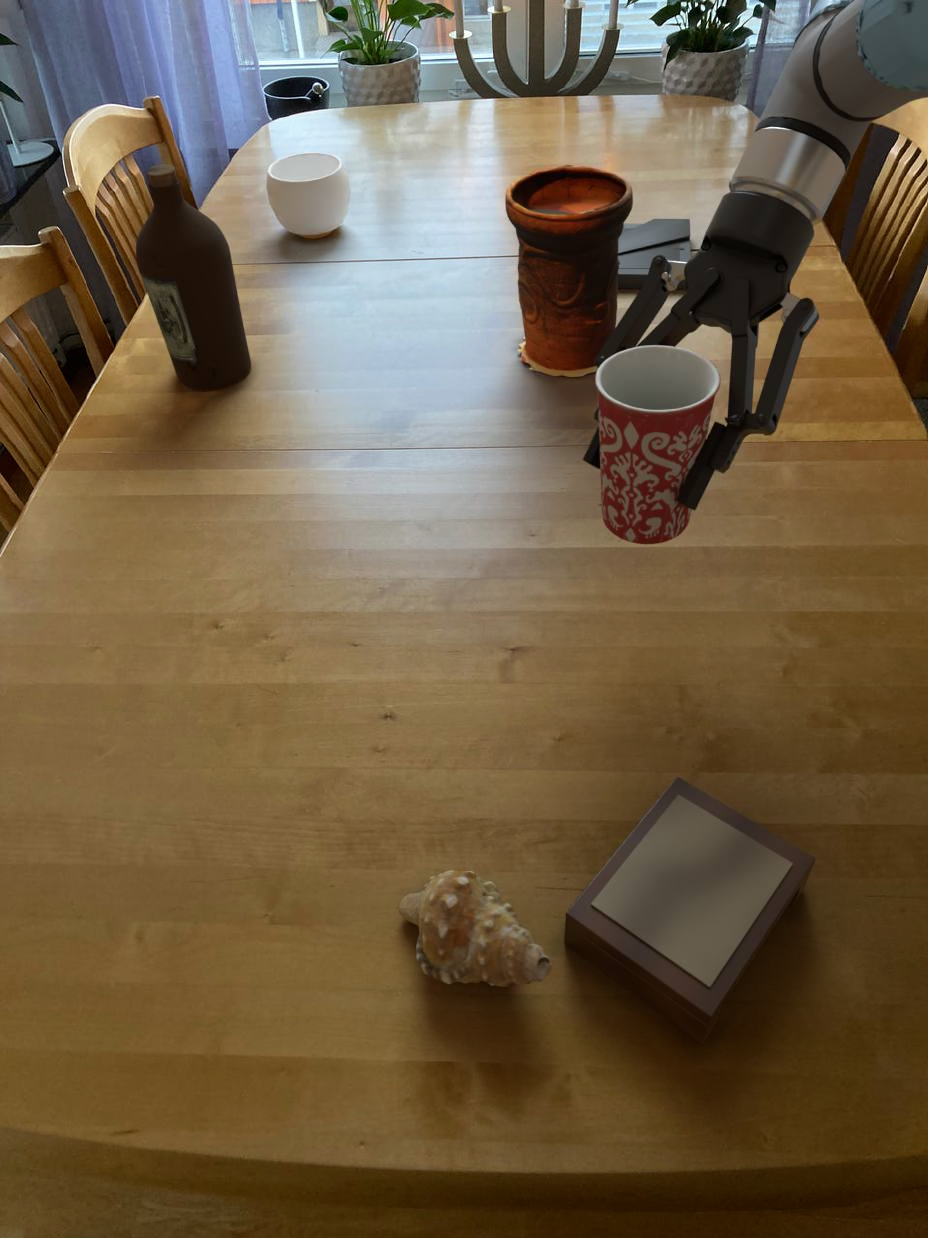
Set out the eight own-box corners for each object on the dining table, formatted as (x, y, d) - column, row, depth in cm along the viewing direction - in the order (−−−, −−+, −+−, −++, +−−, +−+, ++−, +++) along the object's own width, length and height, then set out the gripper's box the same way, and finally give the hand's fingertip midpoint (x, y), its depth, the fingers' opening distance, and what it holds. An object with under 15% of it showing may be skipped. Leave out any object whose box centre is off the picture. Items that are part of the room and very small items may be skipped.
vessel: (491, 335, 125) (485, 177, 111) (590, 310, 129) (597, 153, 114) (536, 390, 116) (536, 226, 102) (642, 362, 119) (657, 198, 105)
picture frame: (687, 237, 142) (545, 236, 144) (689, 218, 140) (546, 217, 142) (690, 289, 131) (537, 287, 134) (692, 269, 129) (537, 267, 132)
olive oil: (223, 340, 128) (172, 143, 110) (273, 367, 123) (229, 164, 105) (156, 375, 123) (91, 173, 105) (205, 404, 118) (146, 197, 100)
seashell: (528, 917, 72) (583, 902, 64) (481, 1021, 69) (533, 1020, 60) (424, 853, 72) (465, 829, 63) (370, 954, 68) (406, 944, 59)
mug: (679, 566, 76) (696, 422, 67) (573, 535, 80) (575, 394, 70) (729, 476, 84) (751, 334, 74) (631, 451, 87) (640, 313, 78)
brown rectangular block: (803, 890, 69) (817, 856, 66) (702, 1045, 62) (711, 1016, 59) (671, 809, 75) (677, 773, 71) (563, 943, 68) (565, 911, 64)
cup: (274, 219, 154) (261, 156, 147) (350, 209, 155) (342, 146, 148) (277, 253, 145) (264, 188, 138) (359, 242, 146) (350, 177, 139)
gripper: (910, 265, 72) (768, 544, 75) (667, 201, 82) (551, 450, 85) (900, 220, 65) (744, 527, 68) (637, 157, 75) (513, 428, 78)
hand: (638, 484), depth 77 cm, fingers closed on mug, 8 cm apart
